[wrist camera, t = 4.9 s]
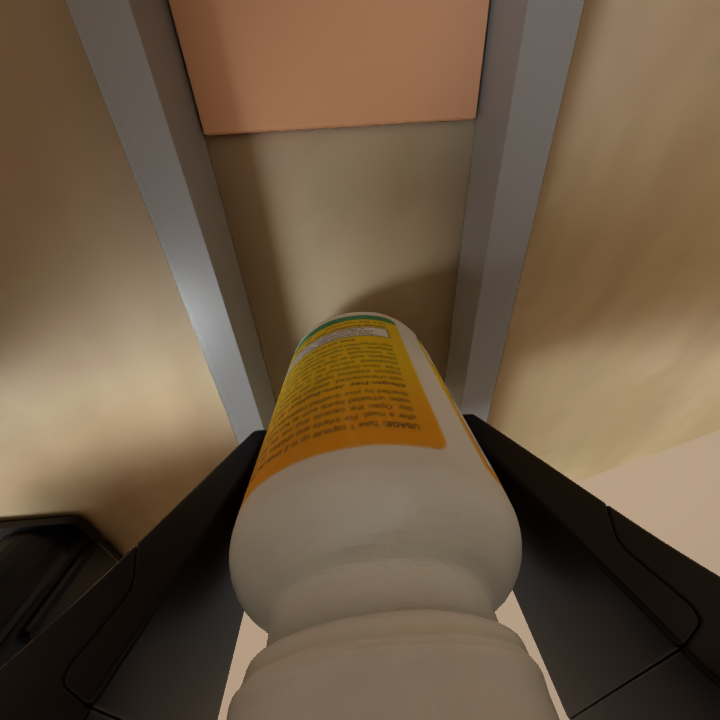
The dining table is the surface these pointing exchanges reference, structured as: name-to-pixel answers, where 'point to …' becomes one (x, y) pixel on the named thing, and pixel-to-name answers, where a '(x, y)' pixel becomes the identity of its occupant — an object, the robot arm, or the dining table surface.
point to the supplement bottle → (377, 545)
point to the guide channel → (331, 110)
